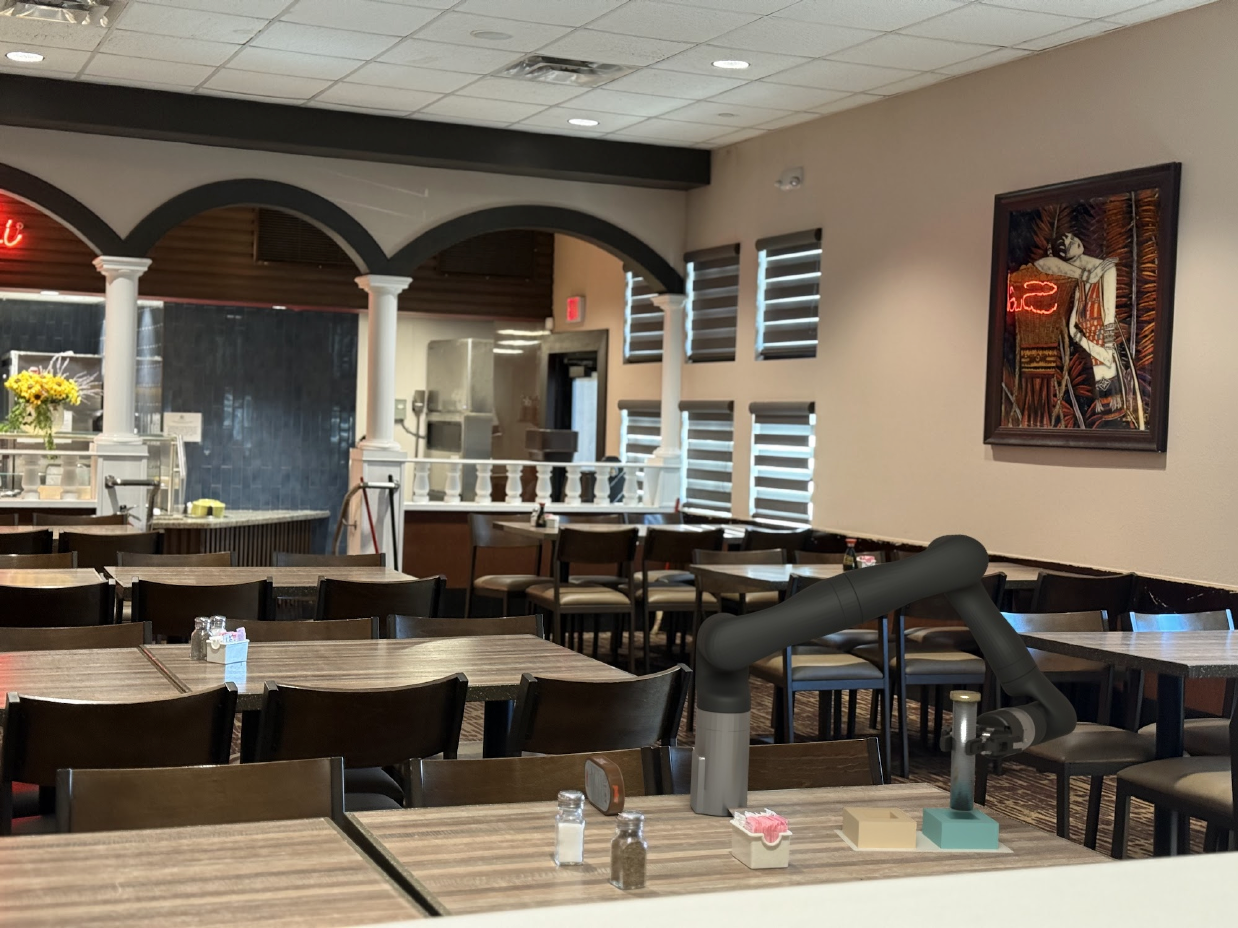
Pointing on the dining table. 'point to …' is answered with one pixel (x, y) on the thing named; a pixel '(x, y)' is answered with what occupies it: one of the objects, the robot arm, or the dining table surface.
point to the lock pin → (963, 749)
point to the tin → (604, 785)
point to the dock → (937, 835)
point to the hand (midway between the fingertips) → (955, 746)
